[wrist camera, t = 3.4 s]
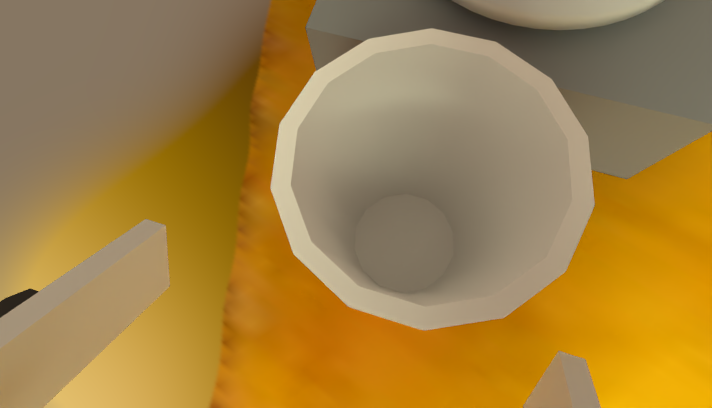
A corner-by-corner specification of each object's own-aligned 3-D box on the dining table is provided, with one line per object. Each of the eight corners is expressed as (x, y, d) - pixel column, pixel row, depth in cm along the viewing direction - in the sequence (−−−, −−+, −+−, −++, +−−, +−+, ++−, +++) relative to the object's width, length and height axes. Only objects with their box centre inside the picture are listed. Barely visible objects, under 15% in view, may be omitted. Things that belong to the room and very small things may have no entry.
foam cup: (383, 356, 22) (389, 404, 10) (298, 226, 25) (215, 133, 12) (514, 261, 23) (667, 195, 11) (419, 145, 26) (457, -17, 13)
